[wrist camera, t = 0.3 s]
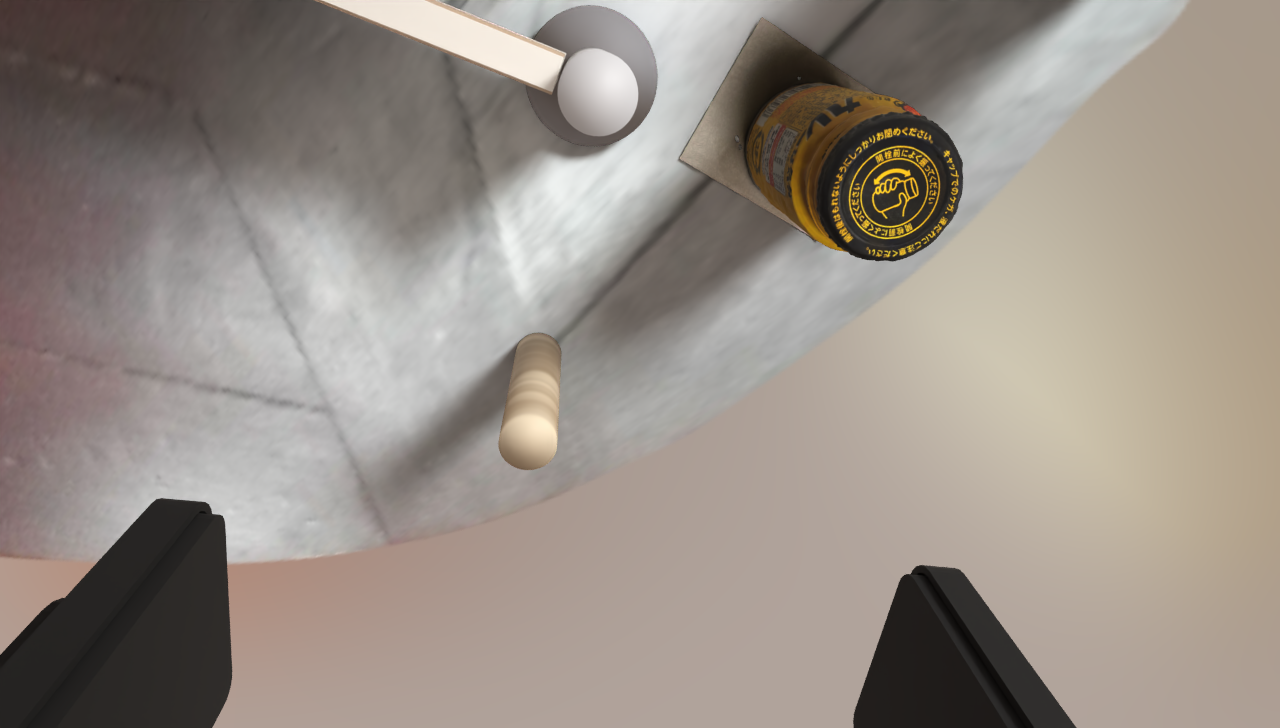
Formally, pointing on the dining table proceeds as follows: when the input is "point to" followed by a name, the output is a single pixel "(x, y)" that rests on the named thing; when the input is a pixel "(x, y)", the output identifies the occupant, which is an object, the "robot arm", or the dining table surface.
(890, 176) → the condiment
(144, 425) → the dining table surface
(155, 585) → the robot arm
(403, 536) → the dining table surface
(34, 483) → the dining table surface
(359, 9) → the gate
